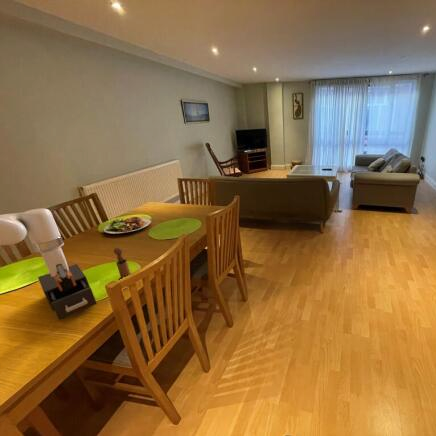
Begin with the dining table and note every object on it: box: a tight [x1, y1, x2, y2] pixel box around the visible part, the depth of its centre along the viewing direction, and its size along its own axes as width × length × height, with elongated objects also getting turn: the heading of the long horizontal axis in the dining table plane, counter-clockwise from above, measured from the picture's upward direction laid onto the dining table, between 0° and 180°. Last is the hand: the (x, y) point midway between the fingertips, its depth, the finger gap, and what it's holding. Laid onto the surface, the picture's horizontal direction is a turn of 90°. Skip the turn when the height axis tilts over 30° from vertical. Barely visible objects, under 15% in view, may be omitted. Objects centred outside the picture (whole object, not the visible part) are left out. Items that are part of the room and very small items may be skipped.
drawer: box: [49, 280, 98, 322], centre depth 93 cm, size 18×11×8 cm, turn 51°
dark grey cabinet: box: [37, 263, 91, 313], centre depth 100 cm, size 15×13×10 cm
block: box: [54, 271, 76, 291], centre depth 91 cm, size 5×5×5 cm
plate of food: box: [103, 216, 152, 234], centre depth 165 cm, size 28×28×6 cm
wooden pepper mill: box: [113, 246, 132, 281], centre depth 107 cm, size 7×6×18 cm
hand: (66, 285), depth 91 cm, fingers closed on block, 4 cm apart
